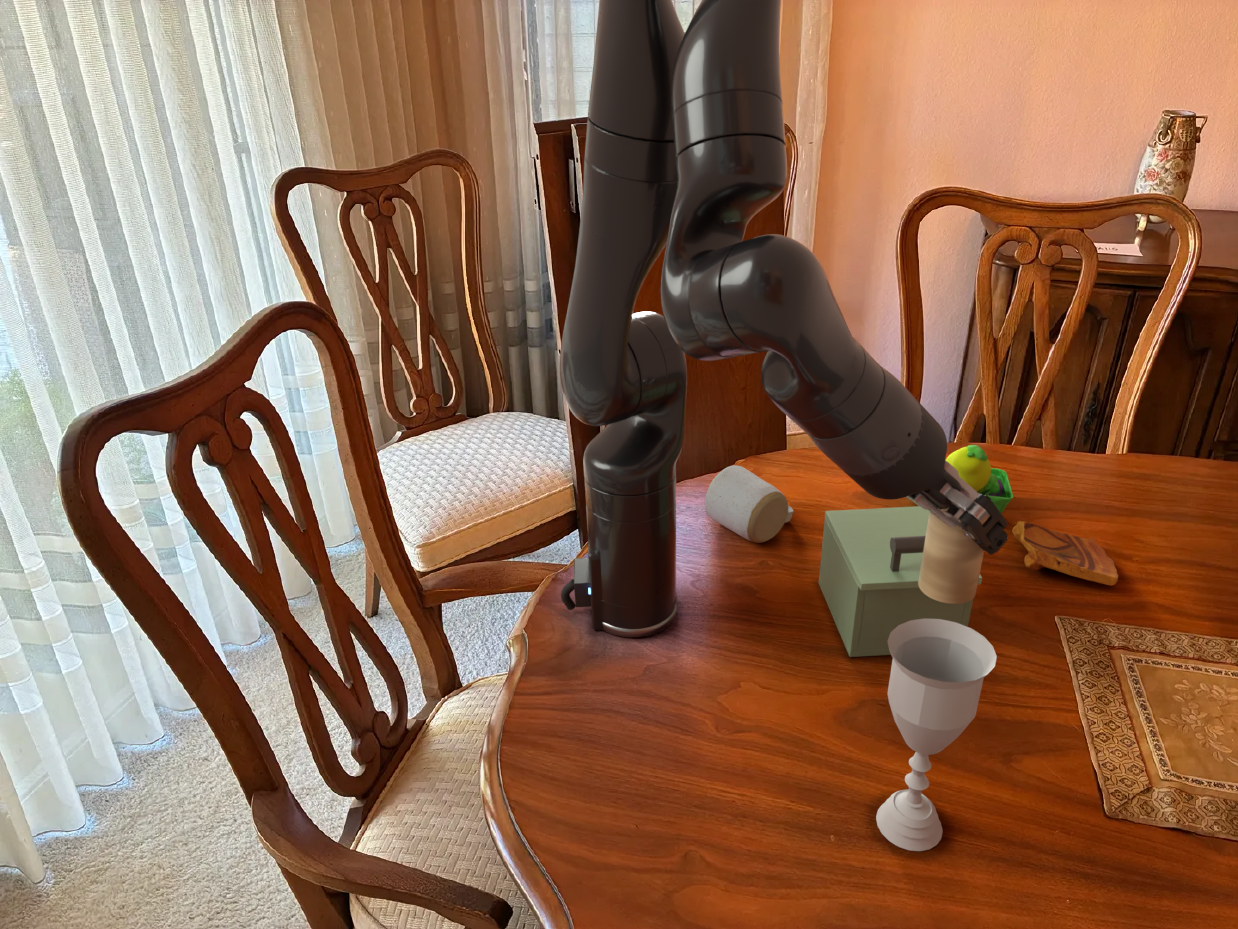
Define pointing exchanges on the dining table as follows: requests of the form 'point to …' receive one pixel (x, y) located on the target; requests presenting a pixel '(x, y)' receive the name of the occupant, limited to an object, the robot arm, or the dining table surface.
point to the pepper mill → (949, 563)
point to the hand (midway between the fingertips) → (973, 528)
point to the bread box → (874, 605)
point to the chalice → (929, 714)
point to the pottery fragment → (1065, 553)
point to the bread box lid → (882, 544)
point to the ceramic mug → (747, 504)
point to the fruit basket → (982, 475)
